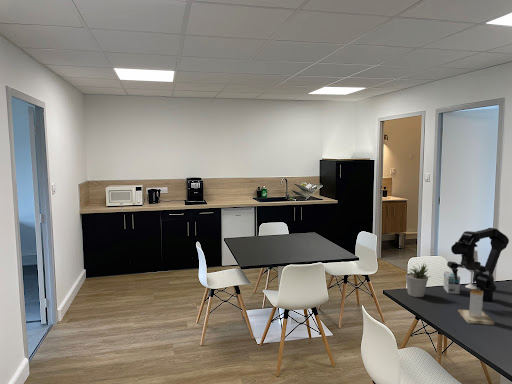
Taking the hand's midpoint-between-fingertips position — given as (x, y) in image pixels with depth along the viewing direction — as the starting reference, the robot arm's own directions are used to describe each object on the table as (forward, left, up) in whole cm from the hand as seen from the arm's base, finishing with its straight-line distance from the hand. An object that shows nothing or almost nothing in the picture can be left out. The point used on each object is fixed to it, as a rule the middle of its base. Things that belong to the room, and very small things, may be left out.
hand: (464, 281), depth 218 cm
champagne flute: (-15, -31, -13) cm, 37 cm away
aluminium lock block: (+2, +21, -11) cm, 24 cm away
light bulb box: (0, -21, -13) cm, 25 cm away
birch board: (+1, +21, -13) cm, 24 cm away
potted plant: (+23, -9, -13) cm, 28 cm away
